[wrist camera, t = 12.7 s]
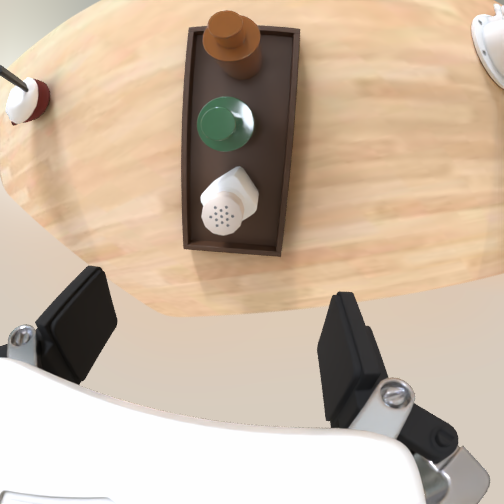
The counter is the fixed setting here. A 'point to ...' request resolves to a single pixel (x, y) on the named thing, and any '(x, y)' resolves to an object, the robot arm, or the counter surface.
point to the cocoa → (25, 98)
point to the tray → (249, 155)
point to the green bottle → (226, 124)
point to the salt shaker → (229, 202)
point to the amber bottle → (234, 44)
